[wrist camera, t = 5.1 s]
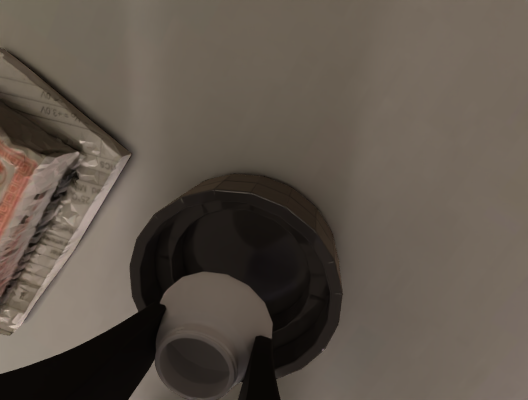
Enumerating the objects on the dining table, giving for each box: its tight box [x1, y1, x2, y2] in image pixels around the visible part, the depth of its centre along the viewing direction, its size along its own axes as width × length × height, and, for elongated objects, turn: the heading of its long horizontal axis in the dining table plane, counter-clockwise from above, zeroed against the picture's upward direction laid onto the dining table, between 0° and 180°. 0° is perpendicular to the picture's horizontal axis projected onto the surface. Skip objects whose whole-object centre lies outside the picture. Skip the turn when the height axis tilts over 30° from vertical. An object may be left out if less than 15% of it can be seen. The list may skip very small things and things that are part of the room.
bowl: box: [130, 174, 343, 382], centre depth 19 cm, size 11×11×4 cm
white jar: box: [155, 272, 273, 400], centre depth 13 cm, size 5×3×5 cm
